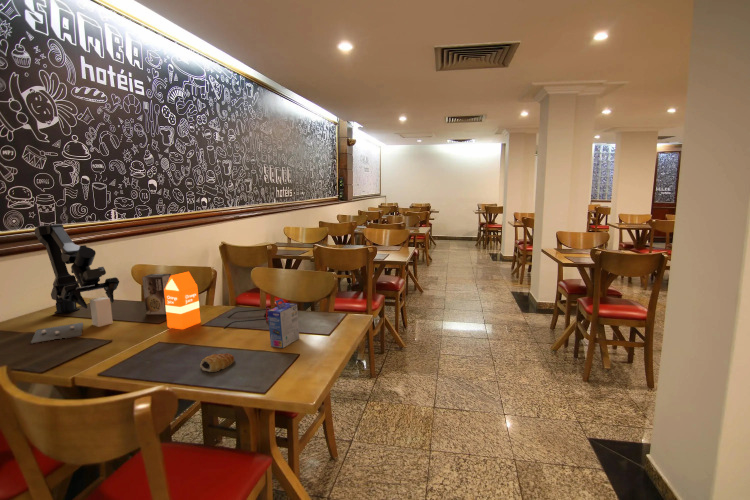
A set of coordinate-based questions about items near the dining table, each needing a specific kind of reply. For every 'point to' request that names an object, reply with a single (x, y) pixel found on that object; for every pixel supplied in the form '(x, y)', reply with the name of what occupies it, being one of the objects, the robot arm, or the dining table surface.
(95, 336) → the dining table surface
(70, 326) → the locator pins
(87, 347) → the dining table surface
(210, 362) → the pastry
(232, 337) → the dining table surface
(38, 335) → the mat
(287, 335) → the ink cartridge box
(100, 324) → the block
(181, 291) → the orange juice
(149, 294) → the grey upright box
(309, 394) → the dining table surface
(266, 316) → the glasses
